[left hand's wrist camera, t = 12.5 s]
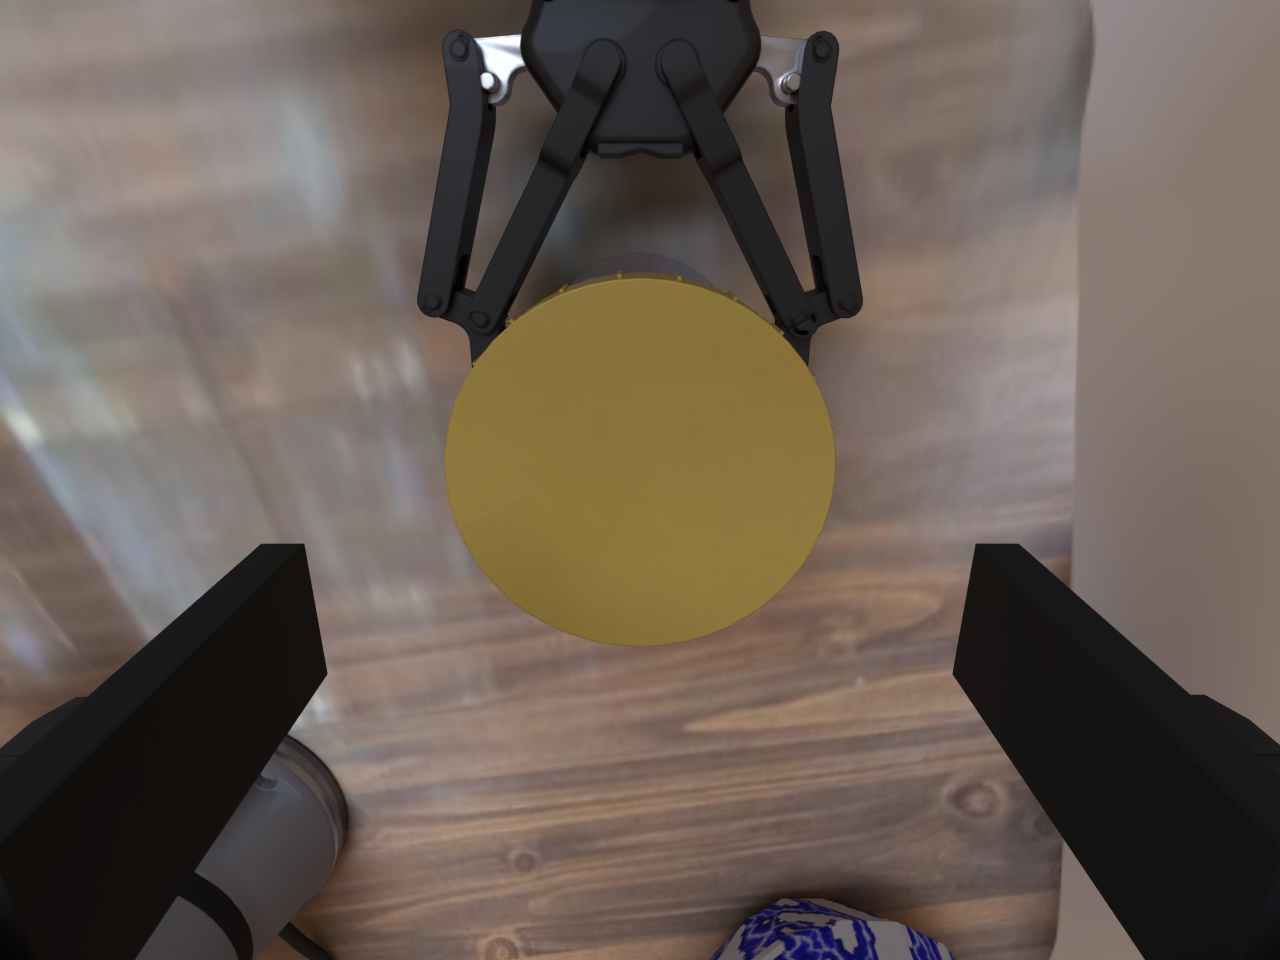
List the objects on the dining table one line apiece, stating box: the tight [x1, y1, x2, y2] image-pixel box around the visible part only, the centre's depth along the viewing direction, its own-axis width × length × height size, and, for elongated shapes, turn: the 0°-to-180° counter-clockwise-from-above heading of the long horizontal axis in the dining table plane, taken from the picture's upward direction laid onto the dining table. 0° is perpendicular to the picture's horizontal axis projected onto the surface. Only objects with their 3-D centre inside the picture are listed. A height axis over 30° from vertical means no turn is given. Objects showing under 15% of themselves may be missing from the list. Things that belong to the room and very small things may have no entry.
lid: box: [445, 270, 836, 646], centre depth 20 cm, size 11×11×2 cm
